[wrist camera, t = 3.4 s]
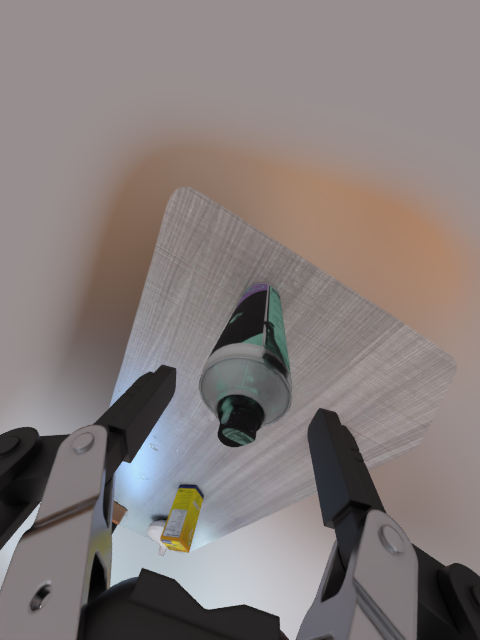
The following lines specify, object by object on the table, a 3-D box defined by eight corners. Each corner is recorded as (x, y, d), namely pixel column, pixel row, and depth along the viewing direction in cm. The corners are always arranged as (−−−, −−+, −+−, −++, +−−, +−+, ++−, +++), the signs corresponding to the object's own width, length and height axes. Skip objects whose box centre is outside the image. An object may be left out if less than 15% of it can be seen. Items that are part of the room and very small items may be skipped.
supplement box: (187, 495, 55) (169, 550, 45) (179, 484, 53) (158, 539, 43) (204, 496, 53) (189, 553, 44) (196, 485, 51) (179, 542, 41)
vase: (147, 521, 70) (135, 549, 64) (158, 509, 63) (145, 539, 57) (182, 538, 71) (174, 567, 65) (197, 528, 64) (188, 559, 58)
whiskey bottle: (107, 496, 66) (-19, 691, 38) (128, 509, 69) (23, 704, 40) (96, 501, 70) (-26, 680, 42) (115, 513, 72) (12, 692, 44)
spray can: (248, 277, 25) (185, 373, 7) (286, 289, 24) (325, 422, 6) (238, 311, 27) (170, 451, 9) (272, 322, 27) (272, 488, 9)
